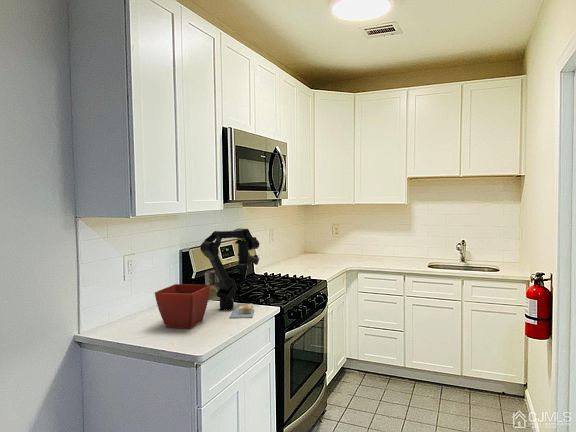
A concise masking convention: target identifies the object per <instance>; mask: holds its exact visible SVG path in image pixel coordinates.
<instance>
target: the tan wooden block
mask: <svg viewBox="0 0 576 432" xmlns="http://www.w3.org/2000/svg"><path fill="white" fill-rule="evenodd" d="M238 310H239V314H251V312H252V310H254V309H253V303H240V305H239V307H238Z"/></svg>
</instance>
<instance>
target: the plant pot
mask: <svg viewBox="0 0 576 432" xmlns="http://www.w3.org/2000/svg"><path fill="white" fill-rule="evenodd" d="M209 292H210V285H205V284H191V283H190V284H188V283H186V284H185V283H180V284H179V283H178V284H177V283H175V284H172V285H170V286H167V287H165V288H163V289H160V290H157V291H155V292H154V297H155V302H156V305H157V308H158V312H159V314H160V317H161V319H162V321H163V324H164V326H165V328H175V329H176V328H177V329H192V328H194V327H196V326H197V325H198V324H200V323H201V322H203V320H204V317H205V314H206V311H207V305H208V302H209V300H208V298H209Z"/></svg>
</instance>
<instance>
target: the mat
mask: <svg viewBox="0 0 576 432" xmlns="http://www.w3.org/2000/svg"><path fill="white" fill-rule="evenodd" d="M254 313H255V309H252V312H251V314H239V309H232V310H231V313H230V315H229V319H253V316H254Z"/></svg>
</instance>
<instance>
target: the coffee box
mask: <svg viewBox="0 0 576 432" xmlns="http://www.w3.org/2000/svg"><path fill="white" fill-rule="evenodd" d="M204 281H205V284H204V285H210V292H209V298H208V301H220V297H217V292H218V290H219V289H220V287H219V283H220V281H219V278H218V276H217V274H216V272H215V270H207V271H205V272H204Z"/></svg>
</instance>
